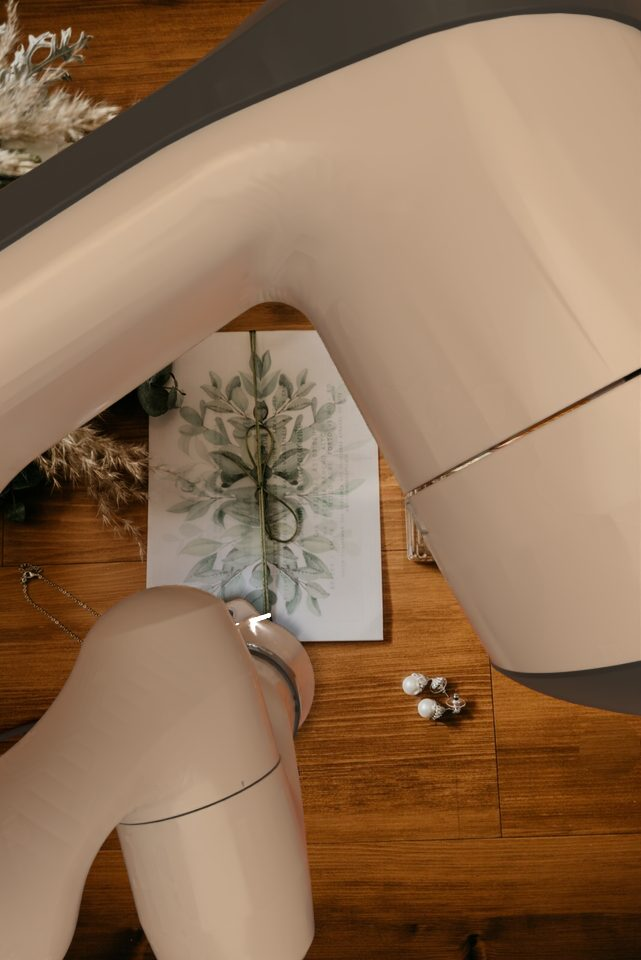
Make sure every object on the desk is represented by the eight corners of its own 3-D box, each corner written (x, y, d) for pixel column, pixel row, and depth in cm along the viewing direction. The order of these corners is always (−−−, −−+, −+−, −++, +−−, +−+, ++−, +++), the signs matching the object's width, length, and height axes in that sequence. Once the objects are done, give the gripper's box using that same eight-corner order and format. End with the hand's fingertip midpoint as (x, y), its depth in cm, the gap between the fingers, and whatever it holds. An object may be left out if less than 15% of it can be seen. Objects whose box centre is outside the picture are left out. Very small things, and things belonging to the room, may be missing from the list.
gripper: (598, 107, 26) (503, 258, 40) (703, 674, 24) (565, 627, 38) (768, 84, 26) (614, 243, 40) (886, 648, 24) (682, 611, 38)
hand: (591, 433), depth 39 cm, fingers open, 8 cm apart
